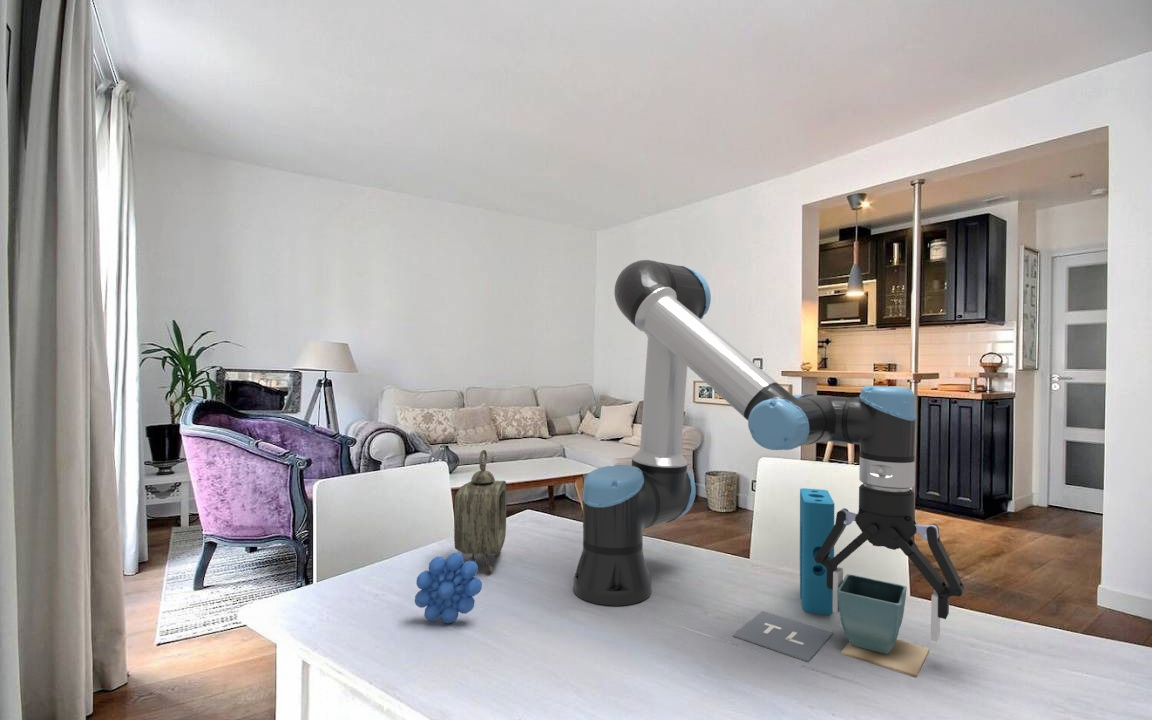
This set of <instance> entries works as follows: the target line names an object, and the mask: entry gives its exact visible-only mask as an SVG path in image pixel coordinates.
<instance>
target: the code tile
mask: <svg viewBox="0 0 1152 720" xmlns="http://www.w3.org/2000/svg"><path fill="white" fill-rule="evenodd" d="M832 635H834V632H833V631H831V630H827V629H825V628H821V627H818V626H814V625H811V624H807V623H803V622H802V621H797V620H794V619H790V618H787V617H784V616H781V615H777V614H774V613H771V612H768V611H764V610H762V611H760V613H758V614H757V615H756V616H754V617H753V618H752V619H751V620H750V621H748V622H747V623H746V624H745V625H744V626H742V627H741V628H740V629H738V630H737V631H736V632H735V633H734V634H732V638H733V637H734V638H736V639H738V640H742V641H746V642H748V643H752V644H754V645H758V646H761V647H762V648H764V649H765V648H766V649H768V650H772V651H775V652H778V653H781V654H783V655H787V656H788V657H789V656H790V657H793V658H794V659H799V660H801V661H804V662H807V663H809V662H810V661H811V659H813V657H814V656H815V655H816V654H817V653H818V651H819V650H820V649H821V648H822V647H823V646H824V645H825V643H826V642H827V641H828V640H829V639H830V638H831V636H832Z"/></svg>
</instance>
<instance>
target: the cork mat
mask: <svg viewBox="0 0 1152 720" xmlns="http://www.w3.org/2000/svg"><path fill="white" fill-rule="evenodd" d="M929 652H930V647H929V648H927V647H924V646H920V645H917V644H914V643H911V642H908V641H904V640H900V639H897V640H896V642H895V645H894V646H893V648H892V650H891V651H890V652H889V653H888V654H882V653H879V652H875V651H872V650H868V649H864V648H860V647H856V646H853V645H852V644H851V643H850V641H848V643H847V644H846V645H845V646H844V648H843V649H842V650H841V654H843V655H845V656H848V657H851V658H855V659H858V660H860V661H861V660H862V661H864V662H867V663H870V664H873V665H877V666H879V667H883V668H886V669H889V670H892V671H895V672H898V673H900V674H901V673H902V674H904V675H907V676H911V677H914V678H917V677H918V675H919V673H920V671H921V668H922V667H923V664H924V663H925V661H926V658H927V656H928V654H929Z"/></svg>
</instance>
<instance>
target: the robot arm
mask: <svg viewBox="0 0 1152 720" xmlns="http://www.w3.org/2000/svg"><path fill="white" fill-rule="evenodd" d="M613 292H614V293H613V294H614V300H615V304H616V305H617V307H618V309H619V311H620V312H621V313H622V315H623V316H624V317H625V318H626V319H627V320H628V321H629V323H631V324H632V325H634V327H636V328H637V330H639V331H641V332H643V333H644V334H645V335H646V336H647V347H646V361H645V373H644V374H645V376H644V386H643V389H644V390H643V401H642V402H643V403H642V414H641V415H642V417H641V418H642V419H641V428H640V429H641V430H640V445H639V450H638V451H637V452H635V453H634V454H633V455H632V457H631V465H628V464H615V465H606V466H602V467H597V468H596V469H595V468H594V469H593V470H591V471H590V472H589V473H587V474H586V476H585V477H584V480H583V481H584V482H583V491H582V496H581V497H582V498H581V499H582V535H583V536H582V551H581V555H580V558H579V560H578V561H579V562H578V564H577V567H576V569H575V570H576V571H575V574H574V576H573V591H574V593H575V595H577V596H578V597H579V598H581V599H582V600H584V601H586V602H590V603H593V604H598V605H603V606H616V607H617V606H628V605H629V606H630V605H634V604H638V603H640V602H643V601H645V600H647V599H649V597H651V595H652V578H651V577H652V576H651V575H650V573H649V569H648V565H647V561H646V558H645V556H644V555H645V554H644V550H643V546H644V544H643V543H644V542H643V541H644V539H643V538H644V537H643V535H644V532H643V530H644V529H648V528H651V527H655V526H658V525H661V524H665V523H670V522H671V523H672V522H674V521H676V520H678V519H679V518H681V517H683V516H685V514H687V513H688V512H689V511H690V510H691V508H692V507H693V505H694V502H695V499H696V495H697V493H696V491H697V490H696V489H697V488H696V483H695V479H694V478H693V477H692V473H691V472H690V471H689V469H688V461H687V459H686V458H685V457H684V456H683V454H682V442H683V426H684V417H685V416H684V415H685V402H686V400H685V399H686V392H687V391H686V389H687V377H688V376H687V375H688V368H689V370H691V371H693V372H694V374H696V375H697V376H698V377H699V378H700V379H701V380H702V381H703V382H704V383H706V384H707V385H708V386H709V387H710V388H711V389H712V390H713V391H714V392H716V394H718V395H719V396H720V397H721V398H722V399H724V400H723V401H726V402H727V403H728V404H729V405H730V406H731V407H732V408H733V409H734V410H735V411H737V413H739V414H740V415H741V416H742V417H743V418H744V419H745V420H747V421H748V422H747V424H748V425H747V426H748V430H749V432H750V436H751V438H752V440H754V441H755V443H757V444H758V445H759V446H760V447H761V448H764V449H766V450H771V451H788V450H789V451H790V450H794V449H796V448H799V447H802V446H805V445H806V446H809V445H813V444H817V443H822V442H831V443H841V444H849V445H859V446H858V447H859V469H858V470H859V473H858V474H859V475H858V477H859V482H861V483H862V484H860V485H859V487H858V511H857V513H855V512H852V511H849V510H848V508H841V509H840V510H839V511H837V512H836V518H835V522H834V527H833V529H832V530H831V532H830V534H829V535H828V537H827V539H826V540H825V542H824V544H823V545H822V547H821V549H820V550H819V552H818V554H817V555H816V557H815V561H816V562H817V563H819V564H820V563H821V564H822V565H824V566H825V567H826V569H827V587H828V588H829V589H832V590H833V613H835V614H839V613H840V612H839V604H838V595H837V589H838V588H839V587H840V585H841V583H842V582H843V580H844V568H843V567H839V565H840V564H841V563H842V562H843V561H845V559H847V558H848V557H849V556H851V555H852V553H854V552H855V551H856V550H858V549H859V548H860V547H861V546H862V545H863V544H864V543H865V542H866V541H868V542H869V543H870V544H872V546H873V547H885V548H887V549H889V550H894V551H896V550H899V549H900V550H901V552H903V553H904V555H905V556H907V557H908V558H909V560H910V561H911V562H912V563H913V565H914V566H915V567H916V569H917V570H918V572H920V574H921V575H922V576H923V577H924V578H925V581H927V582H928V583H929V585H930V586H931V588H932V589H933V590H934V591H933V592H932V594H931V600H930V604H931V605H930V606H931V607H930V609H931V610H930V611H931V612H930V641H933V642H934V643H937V642H938V640H939V638H940V636H941V619H944V620H946V619H947V618H948V616H949V614H950V597H961V596H962V595H963V593H964V590H965V585H964V583H963V581H962V580H961V577H960V575H959V574H958V572H957V569H956V568H955V566H954V564H953V562H952V560H951V558H950V556H949V554H948V552H947V550H946V548H945V547H944V544H943V542H942V541H941V536H940V528H939V526H938V525H937V524H936V523H931V524H929V525H927V524H918V523H917V522H916V520H915V491H914V490H913V489H912V488H913V487H915V485H916V484H915V483H916V481H915V479H916V478H915V477H916V475H915V474H916V461H915V454H916V453H915V452H916V451H915V449H916V427H917V426H916V424H917V422H916V421H917V419H918V418H917V415H916V414H917V413H916V397H915V392H914V390H912V389H911V388H909V387H905V386H888V385H887V386H883V385H865V386H863V387H861V388H860V394H859V396H856V397H853V396H852V397H846V396H835V395H834V396H833V395H820V394H813V393H812V394H811V393H807V394H806V393H803V394H792V393H790V392H789V391H788V390H787V389H785V387H783V386H782V385H781V384H779V383H778V382H777V380H775V379H774V378H773V377H771V376H770V375H769V374H767V373H766V372H765V371H764V370H763V369H762V368H761V367H759V366H758V365H756V363H754V362H753V361H752V360H751V359H749V358H748V357H747V356H746V355H744V354H743V353H742V352H741V351H740V350H738V348H736V347H735V346H734V345H732V344H731V343H730V342H729V341H727V339H726V338H724V337H723V336H722V335H720V334H719V333H718V332H717V331H715V330H714V329H713V328H712V327H711V326H709V325H708V324H707V323H706V322H704V321H703V320H702V319H703V318H704V316H705V315H707V313H708V311H709V309H710V305H711V302H712V295H711V290H710V286H709V283H708V281H707V280H706V279H705V277H703V275H702V274H701V273H700V272H698V271H696V270H694V269H691V268H689V267H686V266H684V265H676V264H671V263H665V262H661V261H656V260H651V259H640V260H637V261H634V262H632V263H630V264H628V265H626V267H624V268H623V269H622V271H621V272H620V273H619V275H618V276H617V278H616V281H615V285H614V291H613ZM853 522H855V524H856V525H857V527H858V528H859V529H860V531H861V533H860V534H859V535H858V536H856V537H855V538H854V539H853V540H852V541H851V542H850V543H848V544H847V545H846V546H845V547H844V548H843V549H842V550H841V551H839V552H838V553H837V554H836V555H834V558H833V559H832V558H830V557H828V555H829V554H830V552H831V550H832V549H833V547H834V548H835V545H836V544H837V542H838V541H839V539H840V537H841V536H842V534H843V533H844V531H845V529H846V527H847V526H849V525H851V524H852V523H853ZM916 533H917V534H920V536H921V538H922V539H923V540H924V541H927V544H928V547H929V549H930V551H931V553H932V555H933V557H934V559H935V560H936V563H937V565H938V567H939V569H940V570H941V574H942V575H943V577H944V579H945V580H946V581H945V580H944V579H943V578H942V576H941V575H940V574H939V573H938V571H937V570H936V568H935V567H934V566H933V565H932V564H931V563H930V561H929V560H928V558H927V557H926V556H925V555H924V554H923V552H922V551H921V550H920V549H919V546H918V545H917V544H916V542H915V541H914V540H913V537H914V536H915V535H916Z"/></svg>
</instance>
